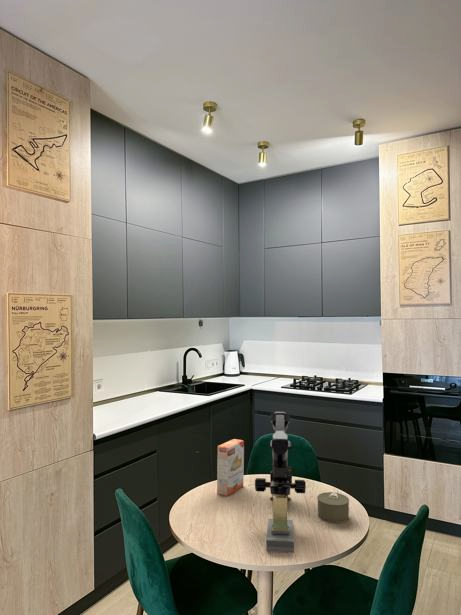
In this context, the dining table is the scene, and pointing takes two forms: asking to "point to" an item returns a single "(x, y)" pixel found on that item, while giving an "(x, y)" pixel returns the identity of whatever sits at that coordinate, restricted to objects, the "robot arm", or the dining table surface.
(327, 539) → the dining table surface
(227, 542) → the dining table surface
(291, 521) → the rail
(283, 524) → the lever
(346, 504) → the can
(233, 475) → the cracker box
